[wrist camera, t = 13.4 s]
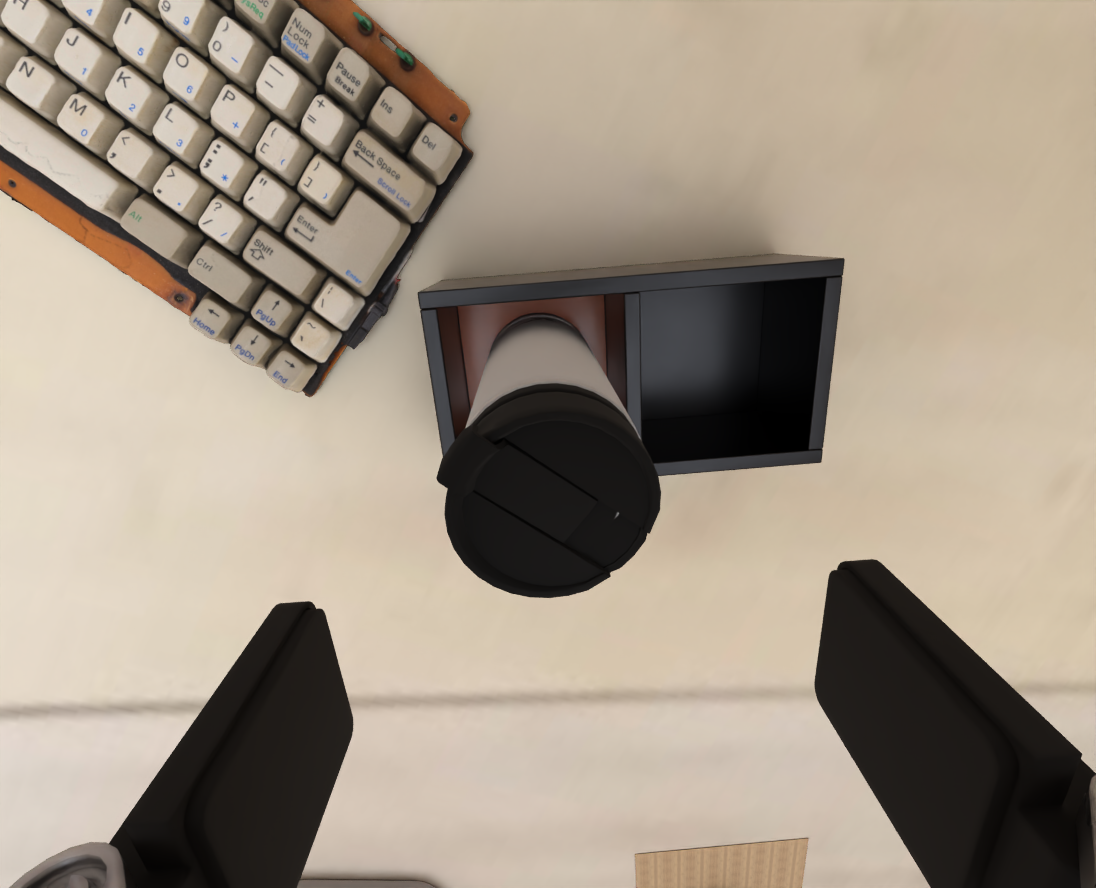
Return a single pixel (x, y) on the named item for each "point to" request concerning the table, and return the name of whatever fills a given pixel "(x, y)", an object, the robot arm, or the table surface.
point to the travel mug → (547, 467)
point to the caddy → (667, 350)
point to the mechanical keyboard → (232, 159)
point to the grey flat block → (361, 884)
